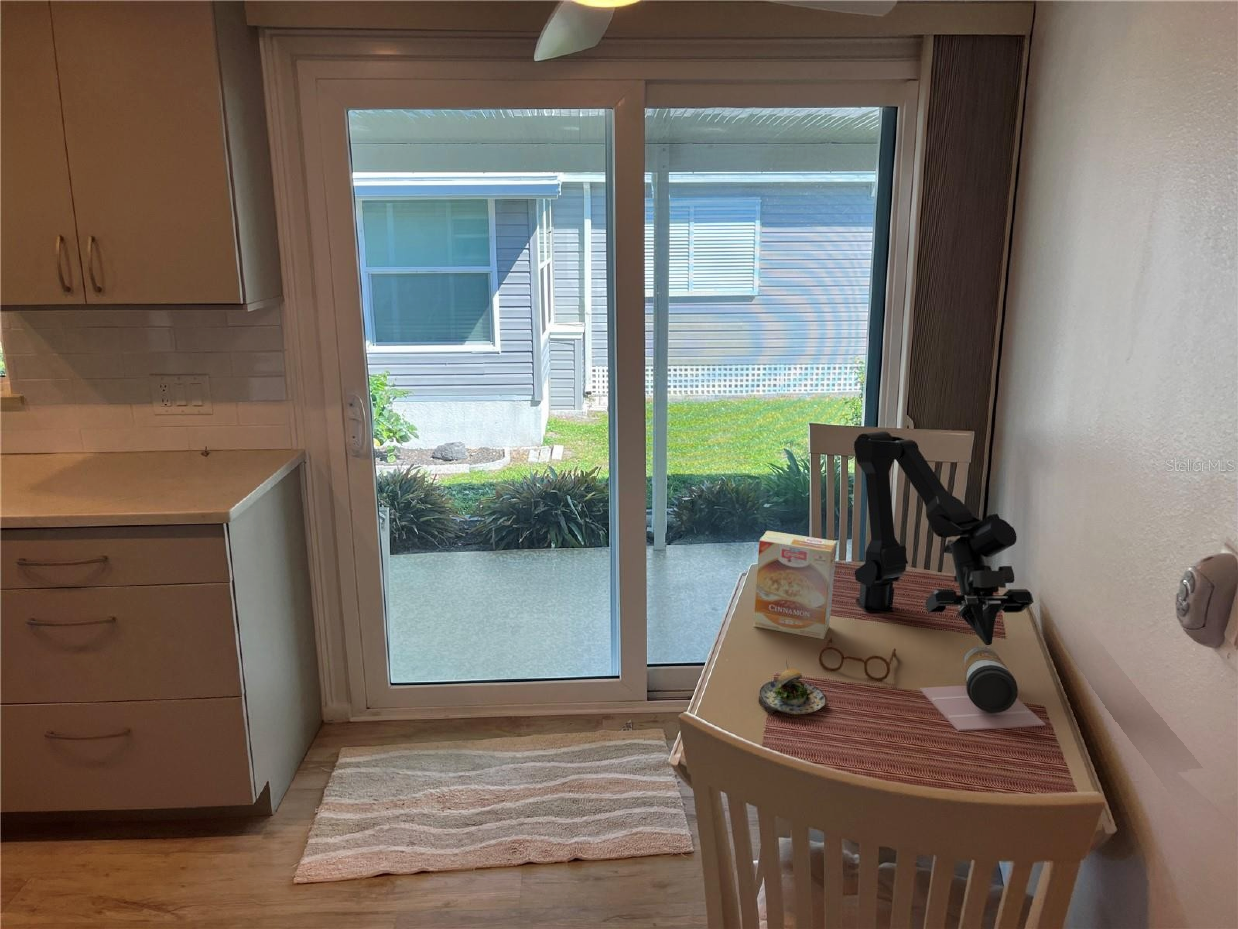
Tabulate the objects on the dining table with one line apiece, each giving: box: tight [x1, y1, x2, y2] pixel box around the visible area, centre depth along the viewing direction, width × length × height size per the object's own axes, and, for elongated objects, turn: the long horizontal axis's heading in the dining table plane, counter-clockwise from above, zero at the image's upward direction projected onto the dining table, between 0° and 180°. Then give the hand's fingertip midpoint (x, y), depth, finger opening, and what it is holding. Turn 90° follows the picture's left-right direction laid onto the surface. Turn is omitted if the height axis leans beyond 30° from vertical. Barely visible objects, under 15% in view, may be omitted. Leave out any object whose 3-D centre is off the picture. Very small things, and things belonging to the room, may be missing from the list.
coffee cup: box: [963, 646, 1019, 713], centre depth 161 cm, size 8×8×15 cm
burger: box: [758, 659, 828, 715], centre depth 158 cm, size 12×12×8 cm
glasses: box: [818, 636, 897, 682], centre depth 174 cm, size 13×13×5 cm
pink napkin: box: [919, 684, 1046, 732], centre depth 159 cm, size 16×14×1 cm
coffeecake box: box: [753, 530, 838, 640], centre depth 187 cm, size 15×7×20 cm, turn 68°
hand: (988, 644), depth 166 cm, fingers closed
